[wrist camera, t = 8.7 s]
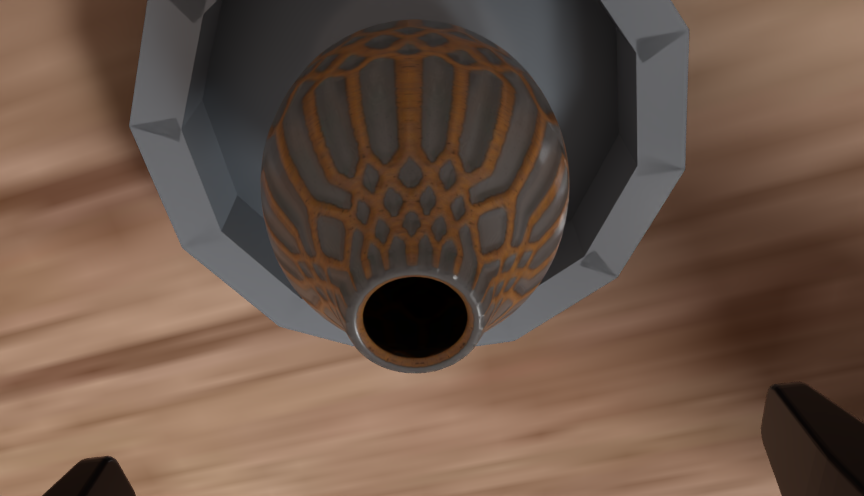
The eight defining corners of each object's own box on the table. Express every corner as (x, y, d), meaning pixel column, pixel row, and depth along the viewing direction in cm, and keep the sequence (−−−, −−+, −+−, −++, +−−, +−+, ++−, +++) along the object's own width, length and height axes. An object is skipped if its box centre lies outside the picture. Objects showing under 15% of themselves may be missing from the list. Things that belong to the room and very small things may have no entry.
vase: (312, 236, 21) (255, 471, 14) (265, 0, 17) (154, 153, 10) (541, 218, 21) (607, 449, 14) (544, -23, 17) (637, 117, 10)
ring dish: (748, 137, 20) (786, 177, 18) (392, 366, 25) (390, 419, 23) (451, -333, 14) (457, -354, 12) (59, 80, 19) (14, 117, 17)
